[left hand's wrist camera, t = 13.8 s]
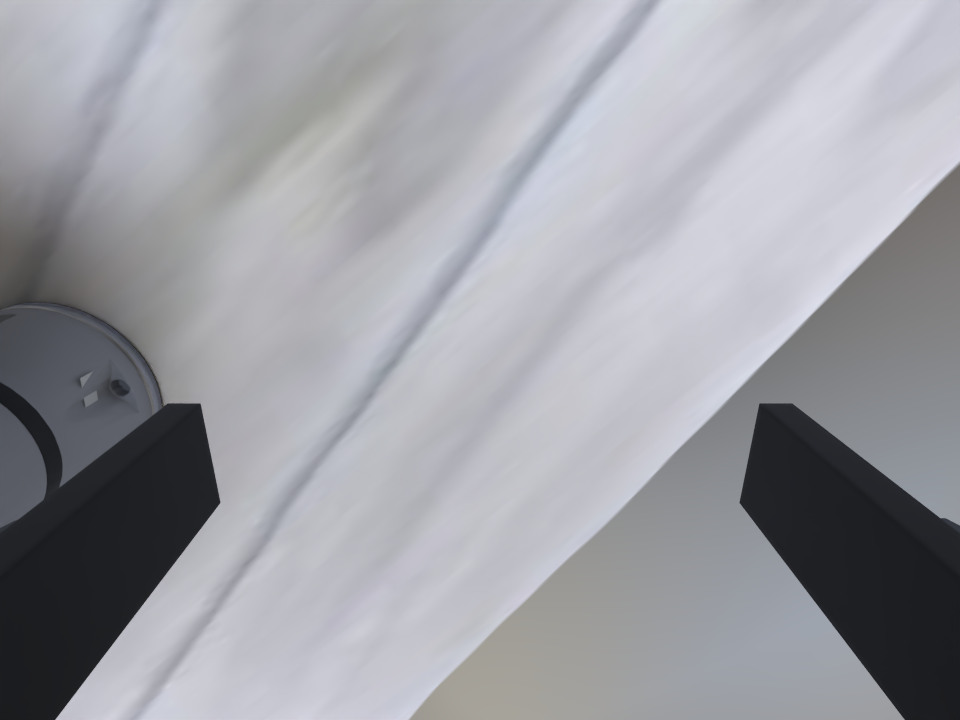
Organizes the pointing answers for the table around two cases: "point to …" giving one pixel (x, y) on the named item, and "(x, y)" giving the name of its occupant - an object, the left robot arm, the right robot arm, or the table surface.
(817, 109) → the table surface
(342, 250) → the table surface
